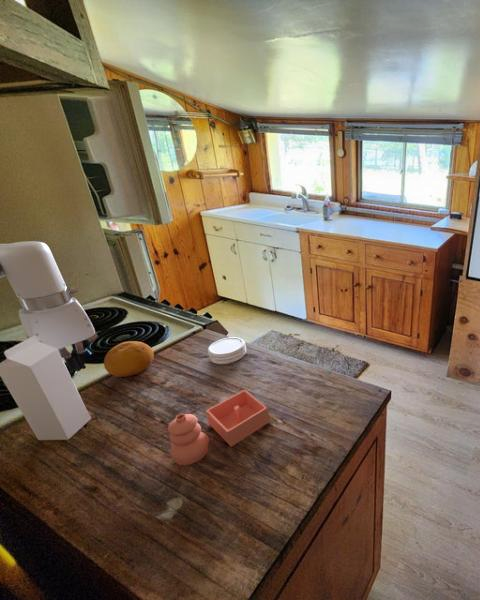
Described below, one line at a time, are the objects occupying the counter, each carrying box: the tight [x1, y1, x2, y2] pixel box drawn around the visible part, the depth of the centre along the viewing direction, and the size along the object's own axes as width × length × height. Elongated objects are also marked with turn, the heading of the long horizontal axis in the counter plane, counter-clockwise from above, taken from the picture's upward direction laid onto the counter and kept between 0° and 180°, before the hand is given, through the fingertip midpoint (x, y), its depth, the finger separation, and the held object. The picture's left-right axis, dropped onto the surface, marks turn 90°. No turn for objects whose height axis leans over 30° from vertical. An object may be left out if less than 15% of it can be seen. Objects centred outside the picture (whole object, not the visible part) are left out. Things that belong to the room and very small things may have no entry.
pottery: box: [167, 389, 271, 466], centre depth 68 cm, size 18×10×10 cm, turn 142°
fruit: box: [103, 340, 155, 378], centre depth 87 cm, size 10×10×8 cm
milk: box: [0, 336, 92, 441], centre depth 66 cm, size 6×6×22 cm
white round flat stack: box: [207, 336, 248, 365], centre depth 96 cm, size 10×10×4 cm
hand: (79, 367), depth 78 cm, fingers closed
